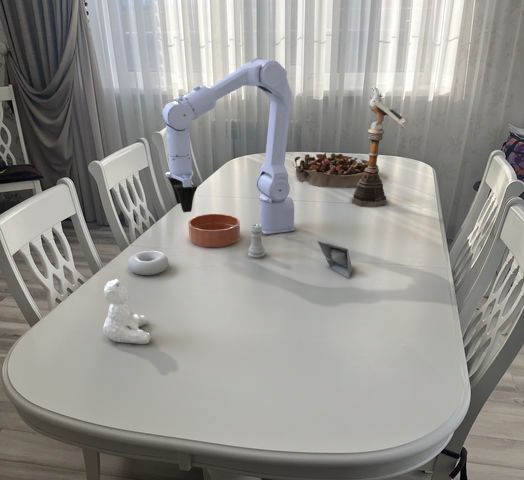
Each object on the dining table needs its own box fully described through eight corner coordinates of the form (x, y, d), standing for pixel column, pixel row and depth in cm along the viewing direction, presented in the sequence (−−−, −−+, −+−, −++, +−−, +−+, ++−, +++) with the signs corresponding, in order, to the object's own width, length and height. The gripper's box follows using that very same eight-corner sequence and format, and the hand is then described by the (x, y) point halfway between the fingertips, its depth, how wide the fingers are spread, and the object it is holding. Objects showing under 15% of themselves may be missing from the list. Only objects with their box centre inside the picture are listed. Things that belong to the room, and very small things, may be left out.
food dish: (295, 164, 228) (296, 145, 224) (375, 168, 224) (378, 148, 220) (286, 184, 198) (287, 162, 194) (379, 190, 194) (382, 167, 190)
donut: (157, 280, 131) (176, 263, 139) (155, 267, 129) (175, 251, 137) (120, 274, 133) (141, 258, 141) (118, 261, 132) (139, 246, 139)
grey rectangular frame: (368, 265, 135) (353, 268, 127) (351, 283, 138) (335, 287, 130) (336, 230, 137) (320, 232, 130) (320, 249, 141) (303, 251, 133)
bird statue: (400, 196, 187) (415, 83, 168) (402, 208, 176) (419, 88, 157) (351, 194, 189) (361, 82, 170) (350, 205, 178) (360, 87, 159)
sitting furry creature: (151, 344, 106) (144, 288, 99) (105, 351, 104) (95, 294, 97) (146, 321, 113) (138, 268, 107) (103, 327, 111) (93, 273, 105)
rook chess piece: (247, 252, 145) (247, 223, 141) (264, 251, 145) (264, 222, 141) (248, 258, 141) (248, 229, 137) (265, 258, 142) (265, 228, 137)
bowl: (231, 228, 161) (230, 211, 158) (246, 244, 150) (246, 227, 147) (184, 233, 157) (183, 216, 154) (196, 251, 146) (195, 233, 143)
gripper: (158, 149, 143) (164, 201, 150) (169, 162, 131) (174, 217, 139) (185, 147, 145) (189, 198, 152) (198, 159, 133) (201, 214, 141)
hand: (184, 207), depth 146 cm, fingers open, 7 cm apart
